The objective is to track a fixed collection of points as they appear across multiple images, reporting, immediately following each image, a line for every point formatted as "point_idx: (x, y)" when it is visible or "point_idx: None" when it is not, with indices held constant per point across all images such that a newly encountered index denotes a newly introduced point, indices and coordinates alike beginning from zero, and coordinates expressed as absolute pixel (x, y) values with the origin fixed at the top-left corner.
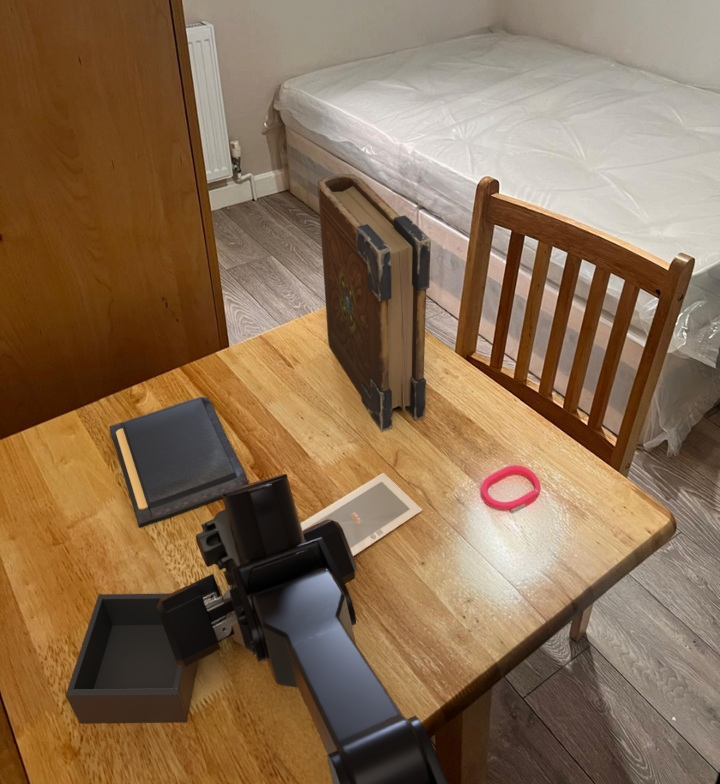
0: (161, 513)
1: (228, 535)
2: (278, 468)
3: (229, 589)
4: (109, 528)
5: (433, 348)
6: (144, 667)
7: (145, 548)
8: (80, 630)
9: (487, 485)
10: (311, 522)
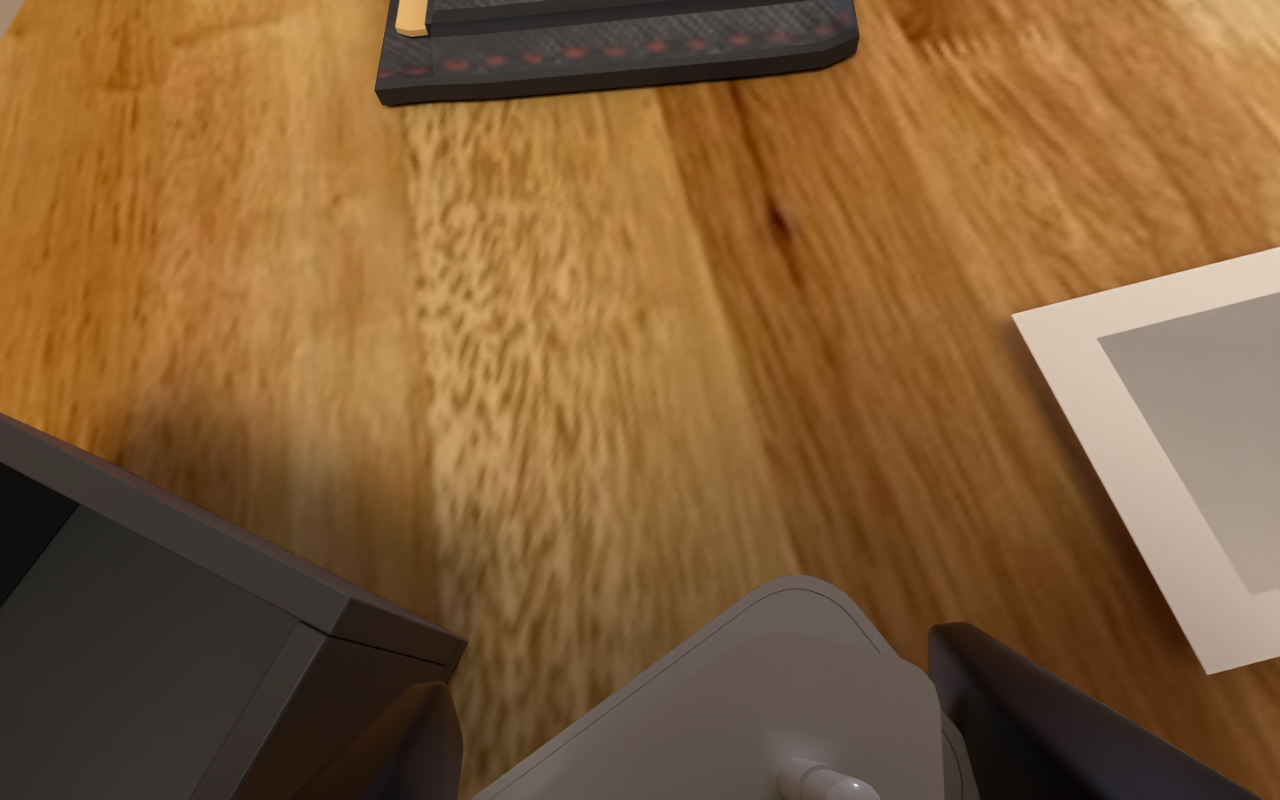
0: (469, 69)
1: None
2: (1002, 17)
3: (517, 779)
4: (291, 80)
5: None
6: (102, 778)
7: (372, 191)
8: None
9: None
10: (1155, 310)
